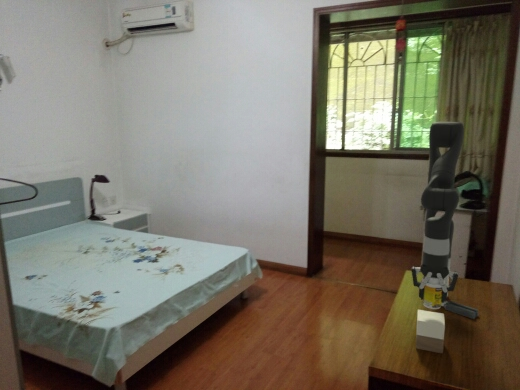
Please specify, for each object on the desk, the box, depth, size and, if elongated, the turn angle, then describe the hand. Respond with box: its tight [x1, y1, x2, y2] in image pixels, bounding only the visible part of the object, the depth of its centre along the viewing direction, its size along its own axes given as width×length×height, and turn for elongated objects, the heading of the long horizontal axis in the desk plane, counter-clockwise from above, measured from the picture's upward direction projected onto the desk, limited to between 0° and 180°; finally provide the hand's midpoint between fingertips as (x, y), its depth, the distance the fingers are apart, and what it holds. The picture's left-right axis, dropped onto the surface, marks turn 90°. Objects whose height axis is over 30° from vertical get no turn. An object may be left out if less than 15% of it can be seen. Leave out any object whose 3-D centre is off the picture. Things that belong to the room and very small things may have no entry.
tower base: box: [415, 331, 445, 354], centre depth 130 cm, size 8×8×5 cm
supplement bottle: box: [422, 277, 443, 310], centre depth 127 cm, size 6×6×10 cm
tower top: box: [415, 309, 446, 341], centre depth 129 cm, size 8×8×5 cm
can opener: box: [441, 300, 479, 320], centre depth 154 cm, size 19×5×6 cm, turn 41°
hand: (432, 300), depth 128 cm, fingers closed on supplement bottle, 5 cm apart
